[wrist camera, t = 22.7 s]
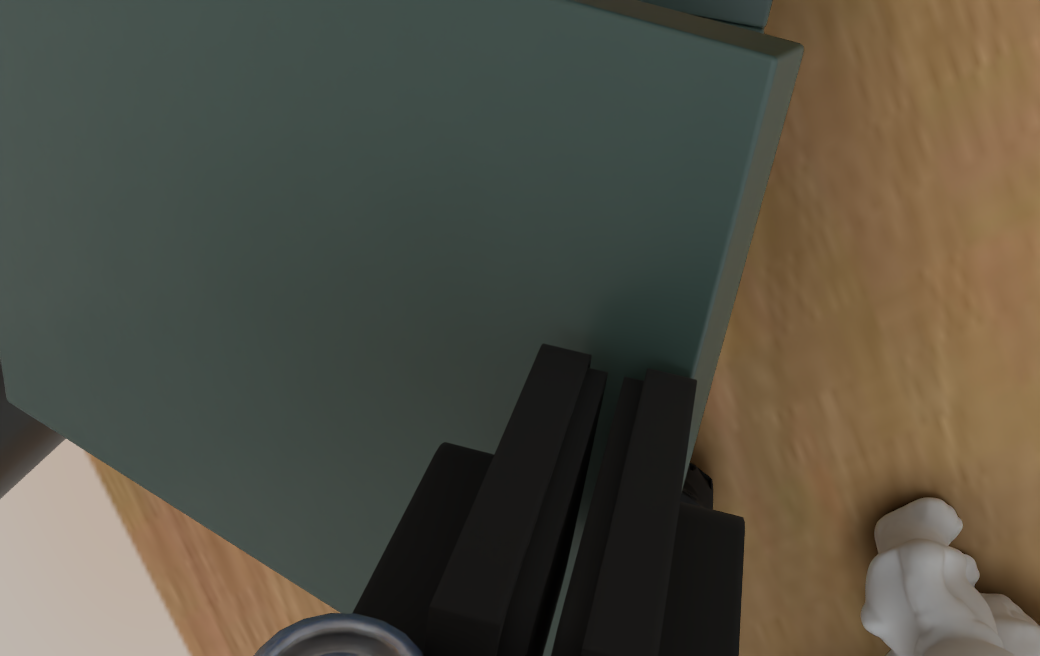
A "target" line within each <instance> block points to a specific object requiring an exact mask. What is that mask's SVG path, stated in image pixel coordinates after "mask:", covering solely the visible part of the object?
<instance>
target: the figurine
mask: <svg viewBox="0 0 1040 656" xmlns="http://www.w3.org/2000/svg"><path fill="white" fill-rule="evenodd" d="M962 527H963V523H962V520H961V519H960V518H959V517H958V516H957V514H956V511H955V510H954V509H953V508H952V507H951V506H949V505H947V504H946V503H945V502H944V501H943V500H941V499H938V498H931V497H925V498H921V499H918V500H915V501H913V502H911V503H909V504H907V505H905V506H903V507H901V508H898V509H897V510H895V511H893V512H890V513H888V514H886V515H885V516H883V517H882V518H881V519H879V521H878V522H877V524H876V527H875V531H874V536H875V542H876V546H877V550H878V555H876V556H875V557H874V559H873V560H872V561H871V563H870V565H869V568H868V572H867V577H866V585H865V603H864V605H863V607H862V610H861V621H862V624H863V626H864V628H865V629H866V630H867V631H868V632H870V633H872V634H873V635H875V636H878V637H880V638H881V639H882V640H883V641H884V642H885V643H886V644H887V645H888V646H889V647H890V648H891V650H890V651H889V652H888V654H887V655H886V656H1040V626H1039V625H1038V624H1037V623H1036V622H1035V621H1034V620H1033V619H1032V618H1031V617H1029V616H1028V615H1026V614H1025V613H1024V612H1023V610H1022V609H1021V608H1020V607H1019V606H1017V605H1016V604H1014V603H1013V602H1012V601H1011V600H1010V599H1009V598H1008V597H1007V596H1005V595H1003V594H986V593H979V592H978V591H977V590H976V589H975V588H974V587H975V583H976V582H977V581H978V579H979V576H980V574H979V571H978V569H977V566H976V562H975V560H974V559H973V558H972V557H971V556H969V555H966V554H963V553H962V552H961V551H959V550H958V549H955V548H953V547H949V546H948V545H949V544H950V543H951V542H952V541H953V540H954V539H955V538H956V537H957V535H958V534H959V533H960V531H961V530H962Z"/></svg>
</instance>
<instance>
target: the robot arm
mask: <svg viewBox="0 0 1040 656" xmlns="http://www.w3.org/2000/svg"><path fill="white" fill-rule="evenodd" d="M591 359H592V355H591V354H586V353H582V352H578V351H574V350H569V349H565V348H561V347H557V346H553V345H548V344H544V343H543V344H542V345H541V347H540V349H539V352H538V354H537V356H536V359H535V361H534V363H533V366H532V368H531V370H530V373H529V375H528V377H527V380H526V382H525V384H524V387H523V389H522V391H521V394H520V396H519V398H518V401H517V403H516V405H515V408H514V410H513V412H512V415H511V417H510V419H509V422H508V424H507V426H506V429H505V431H504V433H503V436H502V438H501V440H500V443H499V445H498V447H497V450H496V452H495V454H491V453H487V452H483V451H479V450H475V449H471V448H467V447H463V446H459V445H455V444H451V443H447V442H444V443H442V444H441V445H440V446H439V448H438V449H437V451H436V452H435V454H434V456H433V458H432V460H431V462H430V464H429V466H428V468H427V470H426V472H425V474H424V475H423V477H422V479H421V481H420V483H419V485H418V487H417V489H416V491H415V493H414V495H413V497H412V499H411V501H410V503H409V505H408V506H407V508H406V510H405V512H404V514H403V516H402V518H401V520H400V522H399V524H398V526H397V528H396V530H395V532H394V534H393V535H392V537H391V539H390V541H389V543H388V545H387V547H386V549H385V551H384V553H383V555H382V557H381V559H380V561H379V563H378V564H377V566H376V568H375V570H374V572H373V574H372V576H371V578H370V580H369V582H368V584H367V586H366V588H365V590H364V592H363V593H362V595H361V597H360V599H359V601H358V603H357V605H356V607H355V609H354V611H353V613H352V614H344V613H329V614H325V615H320V616H315V617H311V618H306V619H303V620H301V621H299V622H297V623H295V624H293V625H290V626H288V627H286V628H284V629H282V630H280V631H279V632H278V633H277V634H275V635H274V636H273V637H272V638H271V639H270V640H269V641H268V642H266V643H265V644H264V645H263V646H262V647H261V648H260V649H259V650H258V651H257V652H256V653H255V655H254V656H543V654H544V650H545V647H546V643H547V639H548V636H549V632H550V628H551V625H552V621H553V617H554V614H555V610H556V606H557V603H558V599H559V595H560V592H561V588H562V584H563V580H564V576H565V572H566V568H567V564H568V559H569V555H570V550H571V545H572V541H573V536H574V531H575V527H576V522H577V517H578V513H579V508H580V503H581V499H582V494H583V489H584V485H585V480H586V475H587V471H588V466H589V461H590V456H591V452H592V447H593V442H594V438H595V433H596V428H597V424H598V419H599V414H600V410H601V405H602V400H603V396H604V391H605V386H606V381H607V376H608V372H604V371H600V370H596V369H592V368H590V365H591ZM696 386H697V380H696V379H692V378H688V377H684V376H679V375H675V374H671V373H667V372H662V371H658V370H654V369H650V368H647V371H646V375H645V379H644V381H642V380H638V379H634V378H630V377H625V376H624V379H623V383H622V387H621V391H620V394H619V398H618V402H617V406H616V409H615V413H614V417H613V421H612V425H611V428H610V432H609V436H608V440H607V443H606V447H605V451H604V455H603V458H602V462H601V466H600V470H599V473H598V477H597V481H596V485H595V488H594V492H593V496H592V500H591V503H590V507H589V511H588V515H587V519H586V522H585V526H584V530H583V534H582V537H581V541H580V545H579V549H578V552H577V556H576V560H575V564H574V567H573V571H572V575H571V579H570V582H569V586H568V590H567V594H566V597H565V601H564V605H563V609H562V613H561V616H560V620H559V624H558V628H557V632H556V636H555V641H554V645H553V649H552V653H551V656H738V655H739V636H740V616H741V596H742V576H743V557H744V537H745V522H744V519H743V517H739V516H735V515H731V514H727V513H724V512H720V511H716V510H712V509H708V508H704V507H700V506H696V505H692V504H688V503H684V502H680V499H681V492H682V485H683V478H684V471H685V464H686V457H687V450H688V443H689V435H690V428H691V421H692V414H693V407H694V400H695V393H696Z"/></svg>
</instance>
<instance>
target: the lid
mask: <svg viewBox="0 0 1040 656" xmlns="http://www.w3.org/2000/svg"><path fill="white" fill-rule="evenodd" d="M803 52H804V46H803V45H801V44H800V43H797V42H793V41H789V40H785V39H782V38H778V37H774V36H770V35H766V34H763V33H759V32H755V31H751V30H748V29H744V28H740V27H736V26H732V25H729V24H725V23H721V22H717V21H714V20H710V19H706V18H702V17H698V16H695V15H691V14H687V13H683V12H680V11H676V10H672V9H668V8H664V7H661V6H657V5H653V4H649V3H646V2H642V1H638V0H0V358H1V364H2V371H3V377H4V384H5V390H6V397H7V401H8V402H10V403H11V404H13V405H14V406H16V407H18V408H19V409H21V410H22V411H24V412H25V413H27V414H29V415H30V416H32V417H33V418H35V419H36V420H38V421H40V422H41V423H43V424H44V425H46V426H47V427H49V428H51V429H52V430H54V431H55V432H57V433H58V434H60V435H62V436H63V437H65V438H66V439H68V440H69V441H71V442H73V443H74V444H76V445H77V446H79V447H80V448H82V449H84V450H85V451H87V452H88V453H90V454H92V455H93V456H95V457H96V458H98V459H99V460H101V461H103V462H104V463H106V464H107V465H109V466H110V467H112V468H114V469H115V470H117V471H118V472H120V473H121V474H123V475H125V476H126V477H128V478H129V479H131V480H132V481H134V482H136V483H137V484H139V485H140V486H142V487H143V488H145V489H147V490H148V491H150V492H151V493H153V494H154V495H156V496H158V497H159V498H161V499H162V500H164V501H166V502H167V503H169V504H170V505H172V506H173V507H175V508H177V509H178V510H180V511H181V512H183V513H184V514H186V515H188V516H189V517H191V518H192V519H194V520H195V521H197V522H199V523H200V524H202V525H203V526H205V527H206V528H208V529H210V530H211V531H213V532H214V533H216V534H217V535H219V536H221V537H222V538H224V539H225V540H227V541H228V542H230V543H232V544H233V545H235V546H236V547H238V548H239V549H241V550H243V551H244V552H246V553H247V554H249V555H251V556H252V557H254V558H255V559H257V560H258V561H260V562H262V563H263V564H265V565H266V566H268V567H269V568H271V569H273V570H274V571H276V572H277V573H279V574H280V575H282V576H284V577H285V578H287V579H288V580H290V581H291V582H293V583H295V584H296V585H298V586H299V587H301V588H302V589H304V590H306V591H307V592H309V593H310V594H312V595H313V596H315V597H317V598H318V599H320V600H321V601H323V602H324V603H326V604H328V605H329V606H331V607H332V608H334V609H336V610H337V611H339V612H340V613H344V614H352V613H353V611H354V609H355V607H356V605H357V603H358V601H359V599H360V597H361V595H362V593H363V592H364V590H365V588H366V586H367V584H368V582H369V580H370V578H371V576H372V574H373V572H374V570H375V568H376V566H377V564H378V563H379V561H380V559H381V557H382V555H383V553H384V551H385V549H386V547H387V545H388V543H389V541H390V539H391V537H392V535H393V534H394V532H395V530H396V528H397V526H398V524H399V522H400V520H401V518H402V516H403V514H404V512H405V510H406V508H407V506H408V505H409V503H410V501H411V499H412V497H413V495H414V493H415V491H416V489H417V487H418V485H419V483H420V481H421V479H422V477H423V475H424V474H425V472H426V470H427V468H428V466H429V464H430V462H431V460H432V458H433V456H434V454H435V452H436V451H437V449H438V448H439V446H440V445H441V444H442V443H444V442H447V443H451V444H455V445H459V446H463V447H467V448H471V449H475V450H479V451H483V452H487V453H491V454H495V452H496V450H497V447H498V445H499V443H500V440H501V438H502V436H503V433H504V431H505V429H506V426H507V424H508V422H509V419H510V417H511V415H512V412H513V410H514V408H515V405H516V403H517V401H518V398H519V396H520V394H521V391H522V389H523V387H524V384H525V382H526V380H527V377H528V375H529V373H530V370H531V368H532V366H533V363H534V361H535V359H536V356H537V354H538V352H539V349H540V347H541V345H542V344H543V343H544V344H548V345H553V346H557V347H561V348H565V349H569V350H574V351H578V352H582V353H586V354H591V355H592V359H591V365H590V368H592V369H596V370H600V371H604V372H608V376H607V381H606V386H605V391H604V396H603V400H602V405H601V410H600V414H599V419H598V424H597V428H596V433H595V438H594V442H593V447H592V452H591V456H590V461H589V466H588V471H587V475H586V480H585V485H584V489H583V494H582V499H581V503H580V508H579V513H578V517H577V522H576V527H575V531H574V536H573V541H572V545H571V550H570V555H569V559H568V564H567V568H566V572H565V576H564V580H563V584H562V588H561V592H560V595H559V599H558V603H557V606H556V610H555V614H554V617H553V621H552V625H551V628H550V632H549V636H548V639H547V643H546V647H545V650H544V654H543V656H551V653H552V649H553V645H554V641H555V636H556V632H557V628H558V624H559V620H560V616H561V613H562V609H563V605H564V601H565V597H566V594H567V590H568V586H569V582H570V579H571V575H572V571H573V567H574V564H575V560H576V556H577V552H578V549H579V545H580V541H581V537H582V534H583V530H584V526H585V522H586V519H587V515H588V511H589V507H590V503H591V500H592V496H593V492H594V488H595V485H596V481H597V477H598V473H599V470H600V466H601V462H602V458H603V455H604V451H605V447H606V443H607V440H608V436H609V432H610V428H611V425H612V421H613V417H614V413H615V409H616V406H617V402H618V398H619V394H620V391H621V387H622V383H623V379H624V376H625V377H630V378H634V379H638V380H642V381H644V379H645V375H646V371H647V368H650V369H654V370H658V371H662V372H667V373H671V374H675V375H679V376H684V377H688V378H692V379H696V380H697V386H696V393H695V400H694V407H693V414H692V421H691V428H690V435H689V443H688V450H687V457H686V464H685V471H684V478H683V485H684V481H685V478H686V474H687V471H688V467H689V463H690V460H691V456H692V453H693V449H694V445H695V442H696V438H697V435H698V431H699V427H700V424H701V420H702V417H703V413H704V409H705V406H706V402H707V399H708V395H709V391H710V388H711V384H712V381H713V377H714V373H715V370H716V366H717V362H718V359H719V355H720V352H721V348H722V344H723V341H724V337H725V334H726V330H727V326H728V323H729V319H730V316H731V312H732V308H733V305H734V301H735V298H736V294H737V290H738V287H739V283H740V280H741V276H742V272H743V269H744V265H745V262H746V258H747V254H748V251H749V247H750V244H751V240H752V236H753V233H754V229H755V225H756V222H757V218H758V215H759V211H760V207H761V204H762V200H763V197H764V193H765V189H766V186H767V182H768V179H769V175H770V171H771V168H772V164H773V161H774V157H775V153H776V150H777V146H778V143H779V139H780V135H781V132H782V128H783V125H784V121H785V117H786V114H787V110H788V107H789V103H790V99H791V96H792V92H793V88H794V85H795V81H796V78H797V74H798V70H799V67H800V63H801V60H802V56H803ZM683 485H682V489H683Z"/></svg>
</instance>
